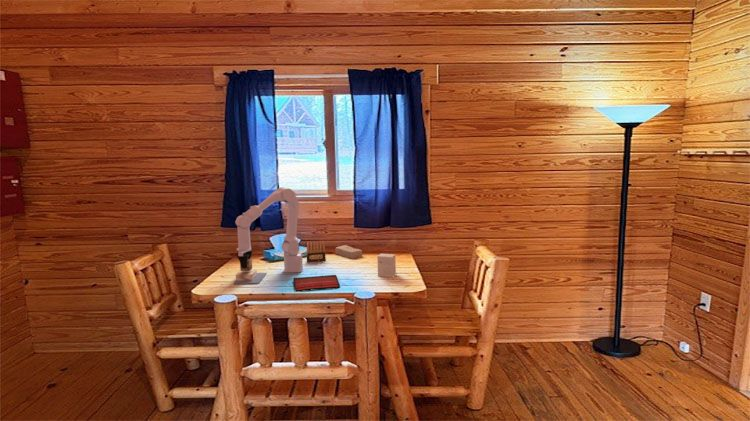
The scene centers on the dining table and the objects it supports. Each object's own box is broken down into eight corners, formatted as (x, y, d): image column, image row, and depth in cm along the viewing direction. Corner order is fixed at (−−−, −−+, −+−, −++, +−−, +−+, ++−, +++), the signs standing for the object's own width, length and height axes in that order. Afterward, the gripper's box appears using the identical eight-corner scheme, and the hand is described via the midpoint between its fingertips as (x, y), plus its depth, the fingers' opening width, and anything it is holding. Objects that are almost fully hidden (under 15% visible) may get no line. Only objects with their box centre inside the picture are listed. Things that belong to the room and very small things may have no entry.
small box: (395, 274, 212) (395, 254, 211) (392, 277, 207) (392, 257, 205) (381, 273, 215) (380, 253, 213) (377, 276, 210) (377, 255, 208)
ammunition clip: (325, 259, 241) (324, 239, 239) (325, 260, 239) (325, 240, 237) (306, 261, 238) (305, 240, 236) (307, 262, 236) (306, 241, 235)
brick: (363, 256, 247) (362, 249, 247) (352, 259, 242) (352, 251, 241) (345, 252, 259) (345, 244, 259) (335, 254, 254) (334, 247, 253)
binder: (293, 277, 203) (336, 274, 208) (293, 281, 204) (336, 278, 208) (294, 289, 188) (340, 285, 193) (294, 294, 188) (340, 290, 193)
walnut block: (252, 268, 209) (251, 258, 208) (249, 270, 204) (249, 261, 204) (243, 268, 209) (242, 258, 208) (240, 271, 204) (239, 261, 204)
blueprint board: (266, 273, 215) (266, 267, 215) (258, 284, 200) (258, 276, 199) (243, 274, 215) (242, 267, 215) (233, 284, 199) (233, 277, 199)
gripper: (240, 236, 211) (241, 262, 214) (231, 243, 197) (233, 271, 199) (254, 236, 212) (255, 262, 214) (246, 243, 197) (247, 270, 199)
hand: (245, 266), depth 206 cm, fingers closed on walnut block, 4 cm apart
